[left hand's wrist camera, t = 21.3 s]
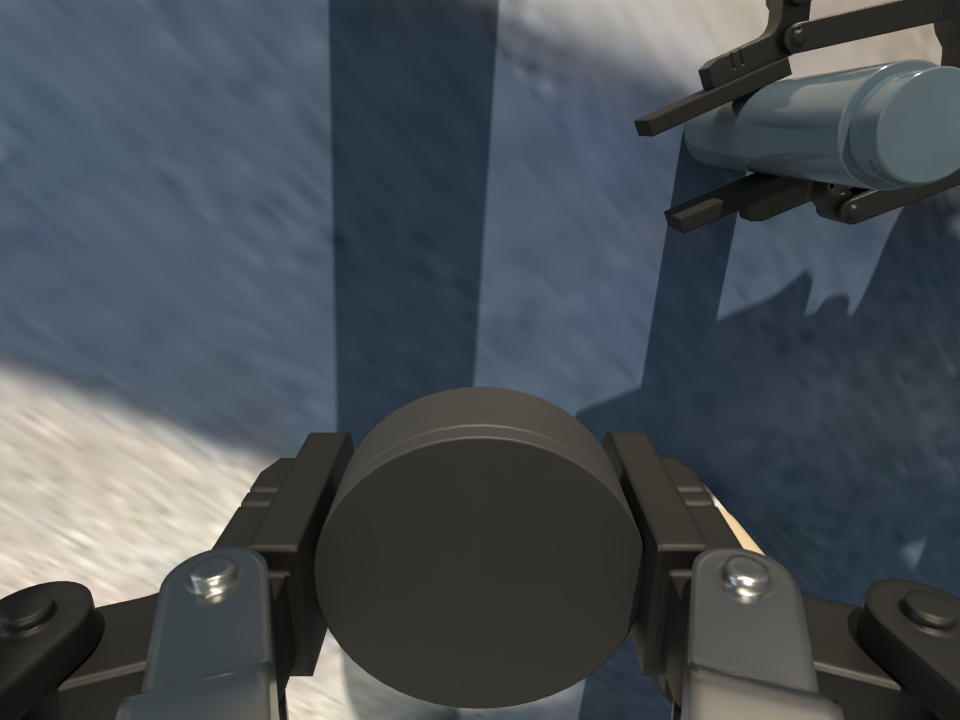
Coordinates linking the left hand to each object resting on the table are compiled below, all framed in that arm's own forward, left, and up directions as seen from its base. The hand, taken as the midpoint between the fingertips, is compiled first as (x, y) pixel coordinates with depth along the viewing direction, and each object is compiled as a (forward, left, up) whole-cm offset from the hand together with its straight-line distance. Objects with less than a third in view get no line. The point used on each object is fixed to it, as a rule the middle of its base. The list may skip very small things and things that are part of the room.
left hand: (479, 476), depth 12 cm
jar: (-12, +9, -28) cm, 32 cm away
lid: (0, 0, +3) cm, 3 cm away
